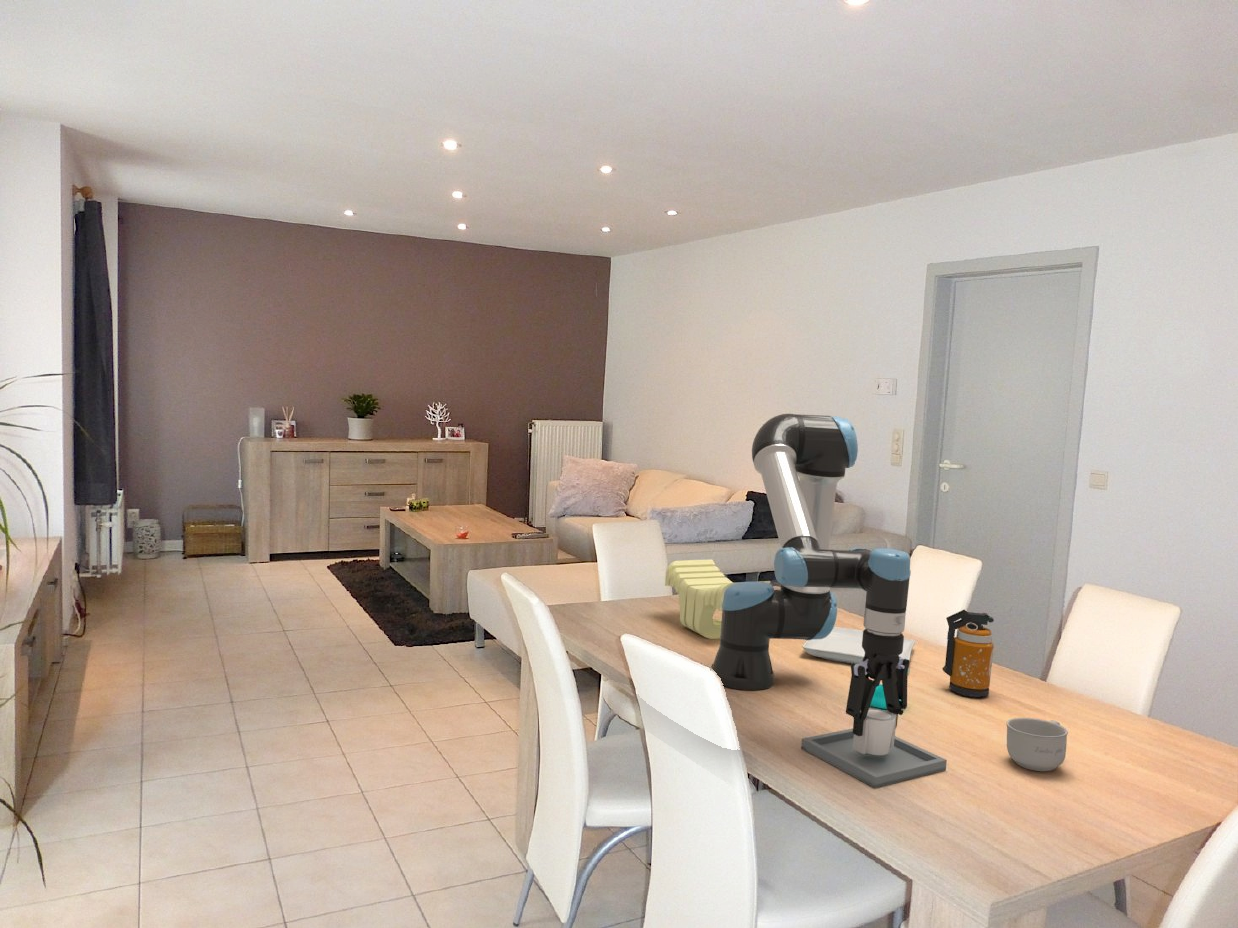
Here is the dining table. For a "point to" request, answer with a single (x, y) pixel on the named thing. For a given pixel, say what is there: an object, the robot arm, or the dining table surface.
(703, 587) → the slatted curved stool
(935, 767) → the tray
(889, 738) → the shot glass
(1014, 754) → the teacup
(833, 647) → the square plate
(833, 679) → the dining table surface
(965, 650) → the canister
